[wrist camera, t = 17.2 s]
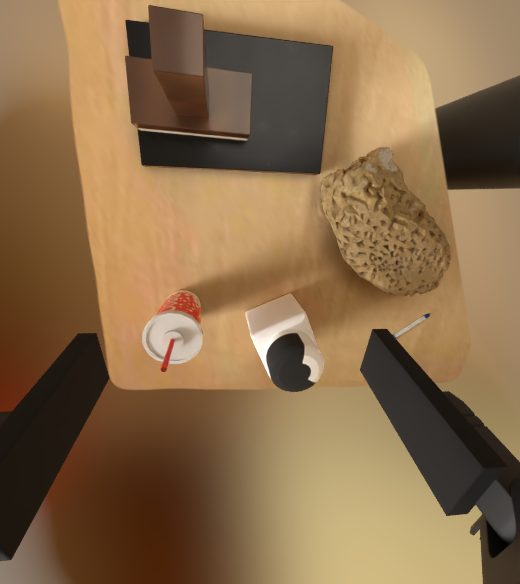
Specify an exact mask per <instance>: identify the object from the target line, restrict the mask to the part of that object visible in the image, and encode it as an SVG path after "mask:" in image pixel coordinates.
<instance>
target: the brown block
mask: <svg viewBox="0 0 520 584" xmlns="http://www.w3.org/2000/svg"><path fill="white" fill-rule="evenodd" d="M148 9H149V24H150V39H151V54H152V59H146V58H139V57H132V56H125V60H126V71H127V82H128V92H129V103H130V114H131V123H132V124H133V125H135V126H136V127H137V128H138V129H139V130H141V131H152V132H162V133H173V134H183V135H193V136H204V137H214V138H224V139H235V140H245V141H247V139H248V137H249V136H250V126H251V100H252V75H253V74H252V73H247V72H240V71H233V70H225V69H218V68H211V67H207V56H206V44H205V31H204V19H203V14H199V13H193V12H187V11H181V10H175V9H169V8H163V7H157V6H152V5H149V6H148Z"/></svg>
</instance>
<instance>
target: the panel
mask: <svg viewBox="0 0 520 584" xmlns="http://www.w3.org/2000/svg"><path fill="white" fill-rule="evenodd" d="M126 30H127V39H128V48H129V56H132V57H139V58H146V59H152V54H151V39H150V24H149V23H147V22H139V21H131V20H126ZM204 31H205V44H206V56H207V67H211V68H218V69H225V70H233V71H240V72H247V73H252V74H253V75H252V100H251V126H250V136H249V137H248V139H247V141H245V140H235V139H224V138H214V137H204V136H193V135H183V134H173V133H162V132H152V131H141V130H139V129H138V136H139V145H140V154H141V163H142V165H143V166H145V167H163V168H185V169H206V170H227V171H248V172H270V173H291V174H312V175H316V174H320V171H321V161H322V151H323V141H324V131H325V122H326V112H327V102H328V92H329V82H330V72H331V62H332V52H333V46H329V45H321V44H313V43H305V42H297V41H289V40H281V39H273V38H266V37H258V36H250V35H242V34H234V33H226V32H218V31H210V30H204Z"/></svg>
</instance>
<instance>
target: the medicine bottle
mask: <svg viewBox="0 0 520 584" xmlns="http://www.w3.org/2000/svg"><path fill="white" fill-rule="evenodd" d="M246 318H247V322H248V326H249V331H250V335H251V338H252V340H253V342H254V345H255V347H256V349H257V351H258V353H259V355H260V358H261V360H262V362H263V364H264V366H265V368H266V370H267V373H268V375H269V377H270V378H271V379H272V381H273V383H274V384H275V385H276V386H277V387H278V388H280V389H282V390H285V391H290V392H298V391H303V390H306V389H308V388H310V387H311V386H313V385H314V384H315V383H316V382H317V381H318V380H319V378H320V377H321V375H322V373H323V370H324V359H323V356H322V354H321V353H320V351H319V349H318V346H317V343H316V340H315V337H314V334H313V331H312V329H311V326H310V323H309V320H308V317H307V314H306V313H305V311H304V310H303V309H302V307H301V306H300V305H299V303H298V302H297V301H296V299H295V298H294V297H293V295H292V294H290V293H289V294H286V295H284V296H282V297H279V298H277V299H274V300H272V301H270V302H267V303H265V304H262V305H260V306H258V307H255V308H253V309H250V310H248V311H246Z"/></svg>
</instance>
